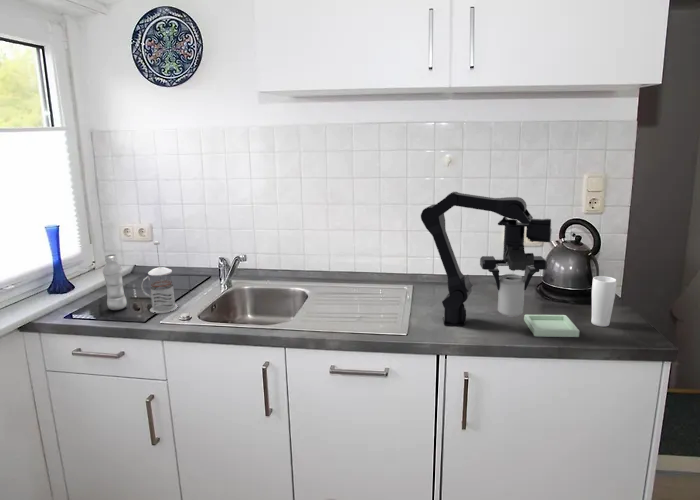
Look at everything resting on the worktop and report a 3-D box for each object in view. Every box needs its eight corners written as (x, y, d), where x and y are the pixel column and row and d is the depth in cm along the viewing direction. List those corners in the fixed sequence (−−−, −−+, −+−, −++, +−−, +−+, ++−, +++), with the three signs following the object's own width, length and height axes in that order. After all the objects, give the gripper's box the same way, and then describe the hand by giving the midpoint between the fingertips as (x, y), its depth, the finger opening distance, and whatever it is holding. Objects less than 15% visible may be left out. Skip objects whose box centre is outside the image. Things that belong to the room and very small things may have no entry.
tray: (534, 336, 157) (534, 330, 156) (524, 320, 169) (524, 314, 169) (578, 337, 155) (579, 330, 155) (565, 320, 168) (565, 315, 168)
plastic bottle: (128, 304, 192) (121, 252, 187) (126, 311, 186) (119, 256, 181) (109, 307, 190) (101, 254, 185) (106, 313, 184) (99, 258, 179)
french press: (177, 311, 184) (169, 243, 178) (142, 315, 181) (133, 245, 175) (179, 302, 193) (172, 237, 187) (146, 305, 191) (138, 239, 185)
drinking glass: (583, 322, 167) (587, 277, 163) (599, 318, 169) (604, 274, 165) (600, 329, 160) (605, 283, 157) (617, 326, 163) (622, 280, 159)
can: (492, 311, 163) (494, 274, 160) (512, 307, 165) (514, 271, 162) (507, 319, 156) (509, 281, 153) (528, 315, 158) (530, 277, 155)
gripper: (486, 246, 148) (484, 298, 152) (553, 246, 146) (550, 298, 150) (480, 238, 159) (478, 286, 162) (543, 237, 157) (540, 286, 161)
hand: (511, 289), depth 159 cm, fingers closed on can, 7 cm apart
